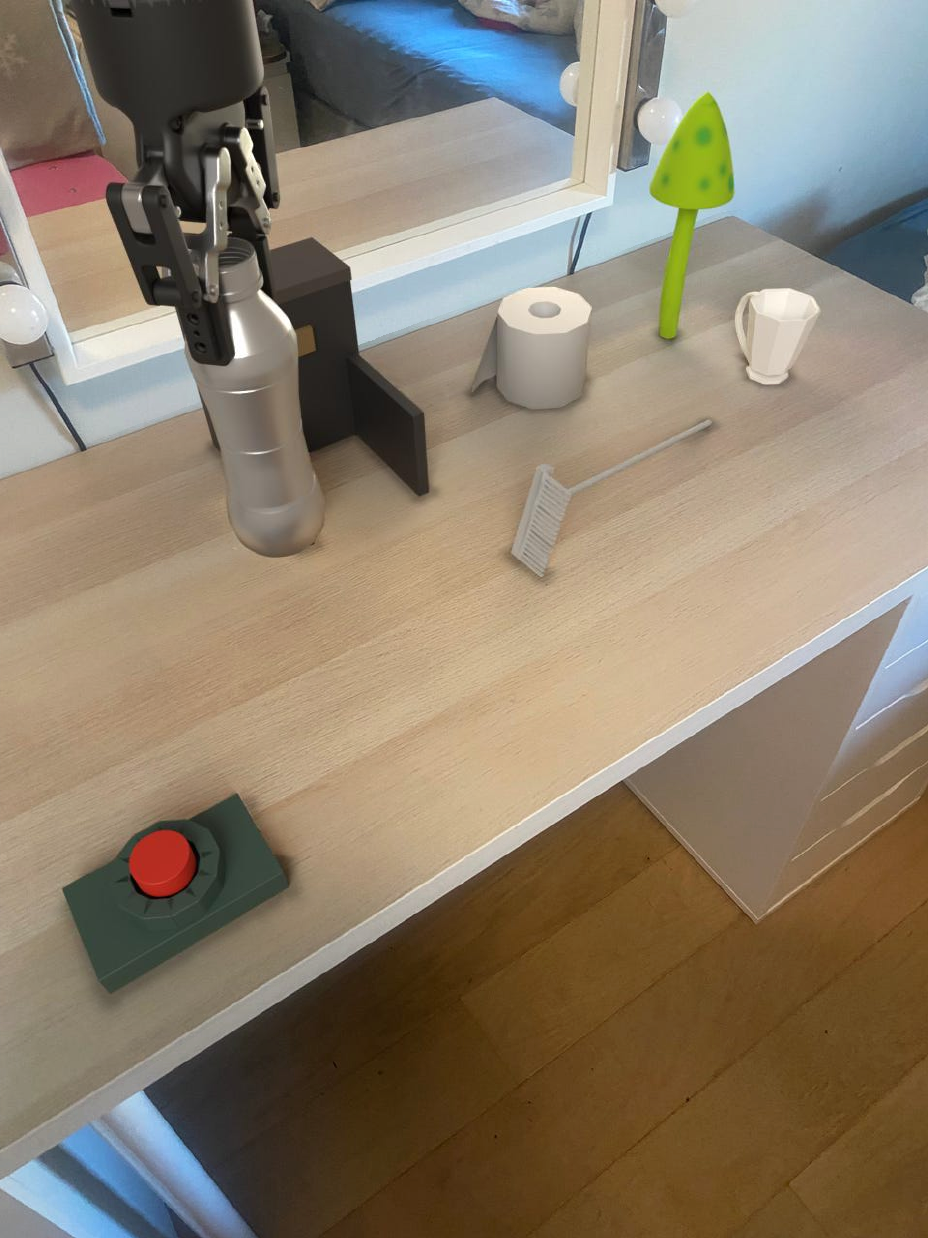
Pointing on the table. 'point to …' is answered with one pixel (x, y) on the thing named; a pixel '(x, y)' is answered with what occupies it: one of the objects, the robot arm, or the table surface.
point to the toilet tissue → (538, 347)
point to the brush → (543, 501)
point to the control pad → (164, 926)
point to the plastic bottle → (260, 415)
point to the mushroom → (691, 192)
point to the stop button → (162, 863)
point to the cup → (775, 331)
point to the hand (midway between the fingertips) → (237, 328)
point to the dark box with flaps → (340, 367)
